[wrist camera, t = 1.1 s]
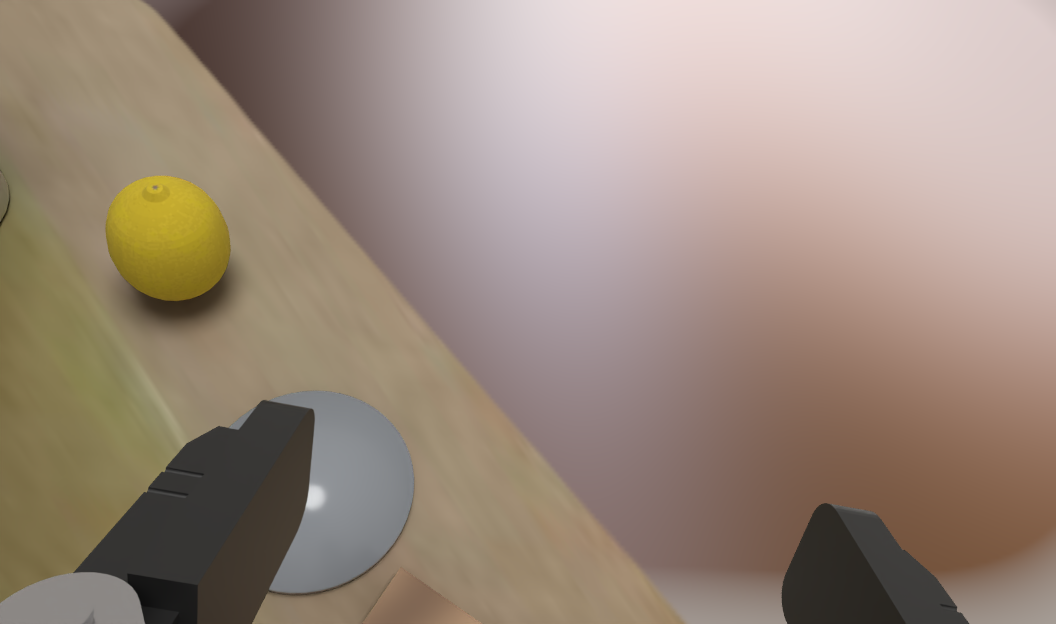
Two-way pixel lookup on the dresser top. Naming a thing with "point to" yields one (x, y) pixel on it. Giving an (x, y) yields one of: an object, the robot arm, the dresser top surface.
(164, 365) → the dresser top surface
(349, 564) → the slate coaster
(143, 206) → the lemon
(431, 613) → the walnut board
